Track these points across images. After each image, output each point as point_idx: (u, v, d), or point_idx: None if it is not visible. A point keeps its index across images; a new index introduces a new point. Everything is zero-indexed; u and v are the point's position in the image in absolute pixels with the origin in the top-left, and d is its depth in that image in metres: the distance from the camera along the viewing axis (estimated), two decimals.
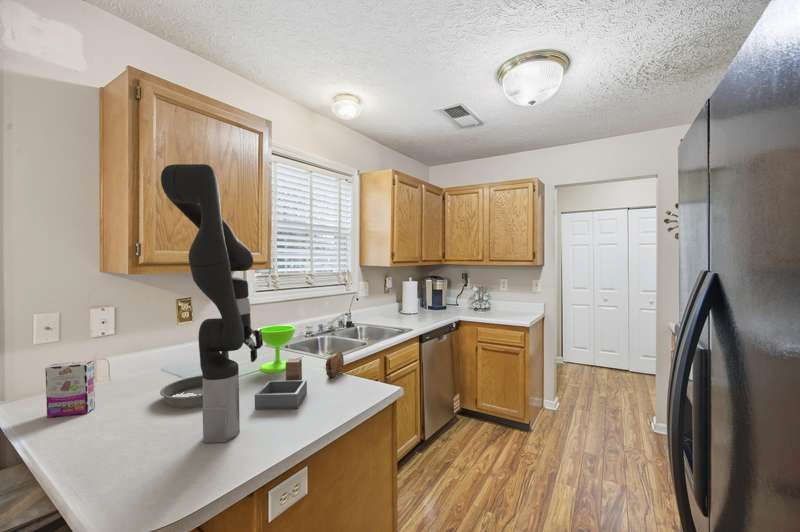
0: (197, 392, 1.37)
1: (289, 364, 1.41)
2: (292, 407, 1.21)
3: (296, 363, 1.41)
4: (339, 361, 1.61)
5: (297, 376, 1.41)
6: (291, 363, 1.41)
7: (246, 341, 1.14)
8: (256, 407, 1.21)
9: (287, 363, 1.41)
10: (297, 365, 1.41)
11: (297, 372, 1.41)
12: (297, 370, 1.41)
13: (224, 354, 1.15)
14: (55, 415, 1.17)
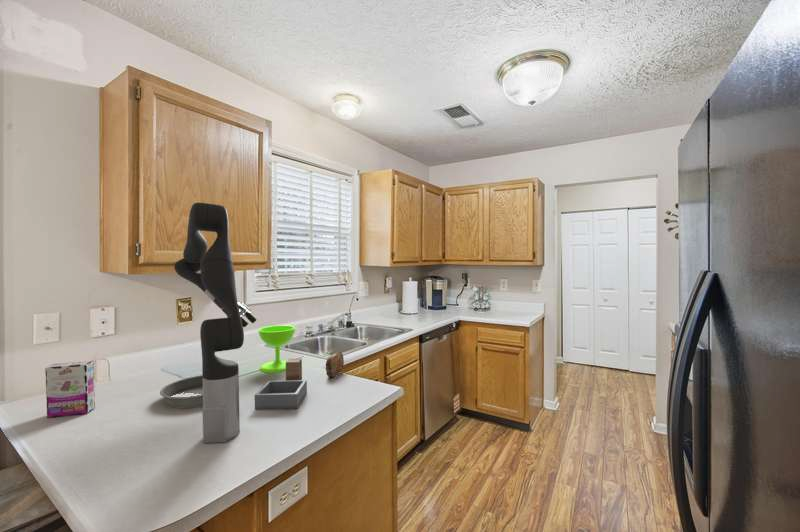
0: (197, 392, 1.37)
1: (289, 364, 1.41)
2: (292, 407, 1.21)
3: (296, 363, 1.41)
4: (339, 361, 1.61)
5: (297, 376, 1.41)
6: (291, 363, 1.41)
7: (244, 306, 1.46)
8: (256, 407, 1.21)
9: (287, 363, 1.41)
10: (297, 365, 1.41)
11: (297, 372, 1.41)
12: (297, 370, 1.41)
13: (243, 318, 1.38)
14: (55, 415, 1.17)
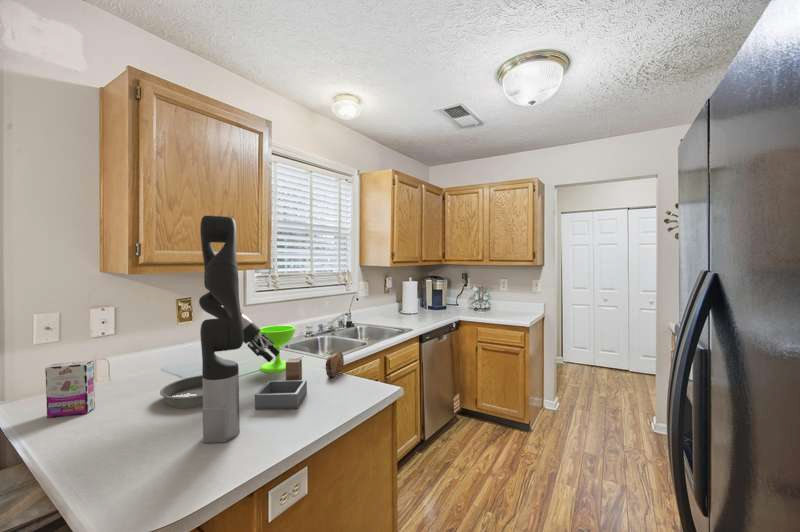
0: (197, 392, 1.37)
1: (289, 364, 1.41)
2: (292, 407, 1.21)
3: (296, 363, 1.41)
4: (339, 361, 1.61)
5: (297, 376, 1.41)
6: (291, 363, 1.41)
7: (267, 340, 1.46)
8: (256, 407, 1.21)
9: (287, 363, 1.41)
10: (297, 365, 1.41)
11: (297, 372, 1.41)
12: (297, 370, 1.41)
13: (268, 353, 1.39)
14: (55, 415, 1.17)
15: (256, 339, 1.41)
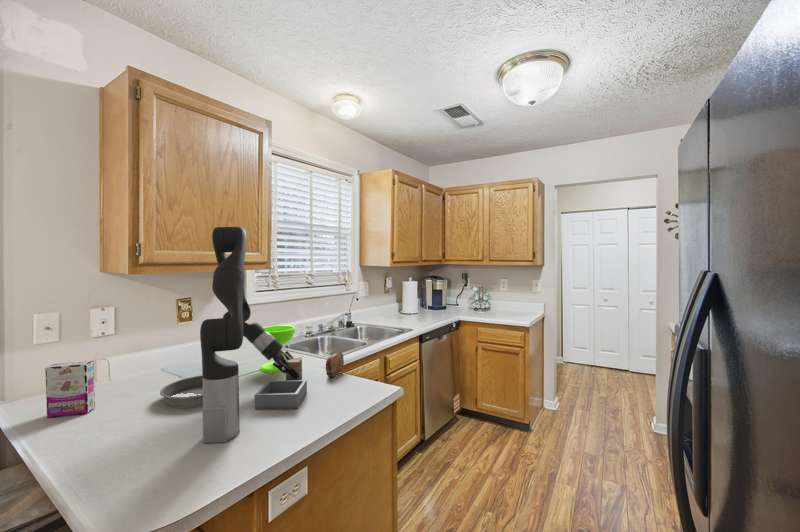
0: (197, 392, 1.37)
1: (289, 364, 1.41)
2: (292, 407, 1.21)
3: (296, 363, 1.41)
4: (339, 361, 1.61)
5: None
6: (291, 363, 1.41)
7: (290, 357, 1.46)
8: (256, 407, 1.21)
9: None
10: (297, 365, 1.41)
11: (297, 372, 1.41)
12: (297, 370, 1.41)
13: (293, 370, 1.41)
14: (55, 415, 1.17)
15: (279, 355, 1.41)
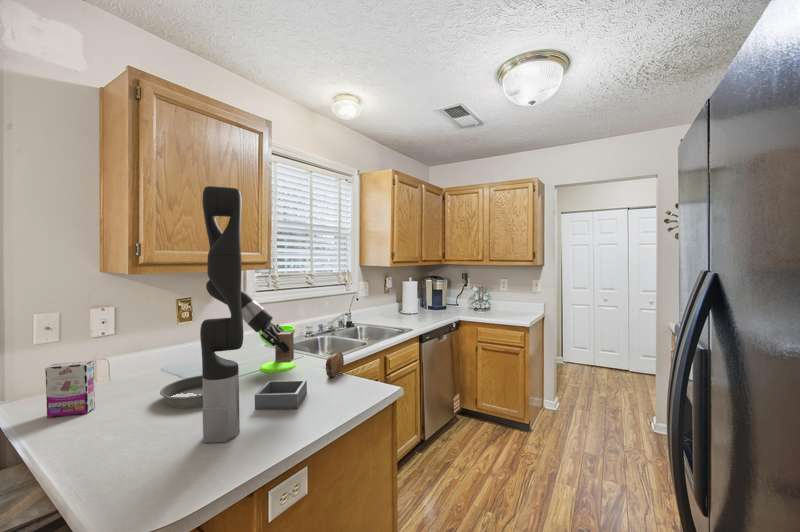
0: (197, 392, 1.37)
1: (279, 336, 1.28)
2: (292, 407, 1.21)
3: (287, 335, 1.28)
4: (339, 361, 1.61)
5: (288, 350, 1.28)
6: (281, 335, 1.28)
7: (280, 330, 1.33)
8: (256, 407, 1.21)
9: None
10: (288, 337, 1.28)
11: (288, 345, 1.28)
12: (288, 343, 1.28)
13: (284, 343, 1.28)
14: (55, 415, 1.17)
15: (268, 327, 1.28)
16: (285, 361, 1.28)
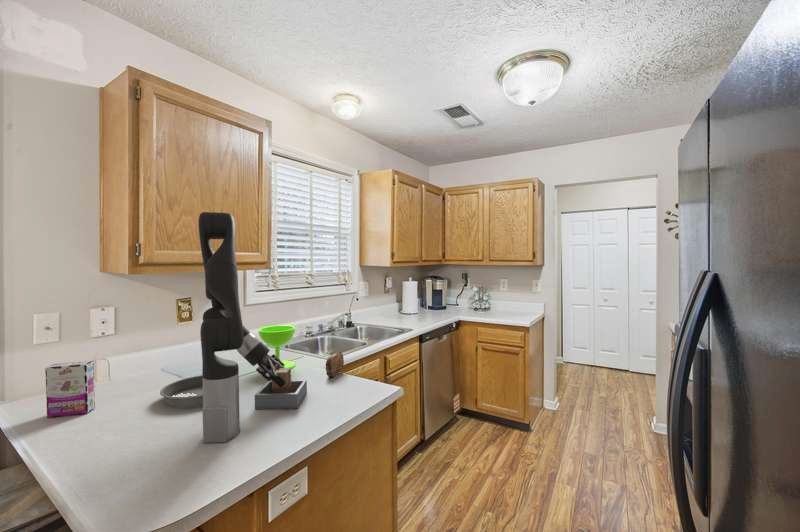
0: (197, 392, 1.37)
1: None
2: (292, 407, 1.21)
3: (284, 373, 1.25)
4: (339, 361, 1.61)
5: (285, 388, 1.25)
6: (278, 373, 1.25)
7: (277, 361, 1.30)
8: (256, 407, 1.21)
9: None
10: (285, 376, 1.25)
11: (285, 384, 1.25)
12: (285, 381, 1.25)
13: (279, 377, 1.24)
14: (55, 415, 1.17)
15: (265, 361, 1.25)
16: None
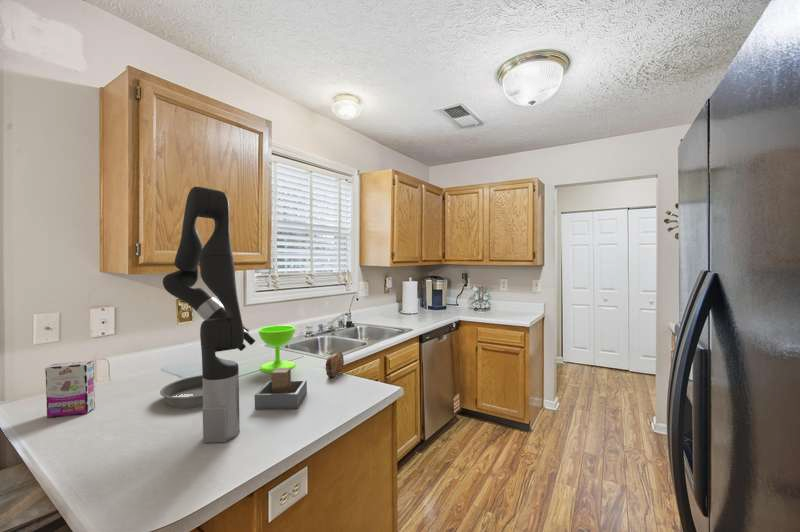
0: (197, 392, 1.37)
1: (276, 375, 1.25)
2: (292, 407, 1.21)
3: (284, 373, 1.25)
4: (339, 361, 1.61)
5: (285, 388, 1.25)
6: (278, 373, 1.25)
7: None
8: (256, 407, 1.21)
9: (274, 373, 1.25)
10: (285, 376, 1.25)
11: (285, 384, 1.25)
12: (285, 381, 1.25)
13: None
14: (55, 415, 1.17)
15: None
16: None
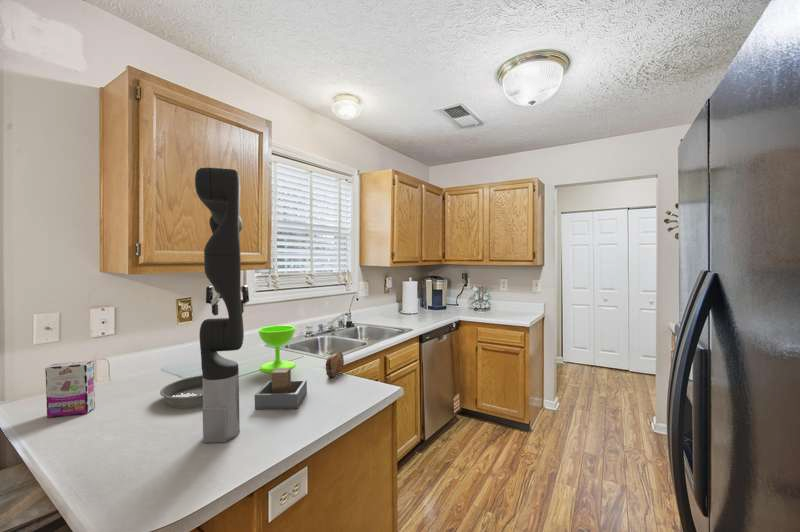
0: (197, 392, 1.37)
1: (276, 375, 1.25)
2: (292, 407, 1.21)
3: (284, 373, 1.25)
4: (339, 361, 1.61)
5: (285, 388, 1.25)
6: (278, 373, 1.25)
7: None
8: (256, 407, 1.21)
9: (274, 373, 1.25)
10: (285, 376, 1.25)
11: (285, 384, 1.25)
12: (285, 381, 1.25)
13: (214, 307, 1.29)
14: (55, 415, 1.17)
15: None
16: None
